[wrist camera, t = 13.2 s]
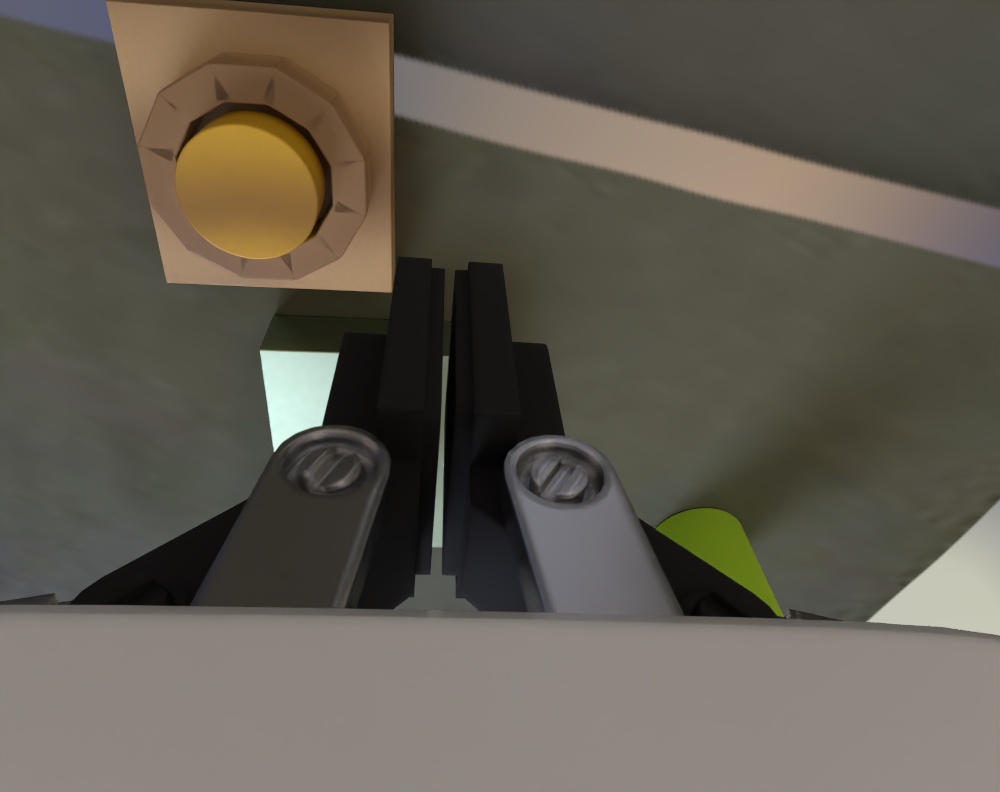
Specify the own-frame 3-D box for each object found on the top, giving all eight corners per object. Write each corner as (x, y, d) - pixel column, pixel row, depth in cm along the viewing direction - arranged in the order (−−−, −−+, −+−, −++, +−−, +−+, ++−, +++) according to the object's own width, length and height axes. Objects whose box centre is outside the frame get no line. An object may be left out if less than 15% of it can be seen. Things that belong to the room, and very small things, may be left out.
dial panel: (273, 314, 32) (258, 351, 29) (492, 323, 33) (496, 360, 30) (296, 505, 39) (285, 548, 36) (477, 507, 40) (479, 550, 37)
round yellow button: (178, 104, 23) (160, 118, 22) (321, 114, 23) (313, 128, 22) (201, 236, 26) (187, 257, 24) (329, 243, 26) (322, 263, 25)
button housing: (130, -8, 24) (80, 7, 21) (393, 13, 25) (385, 31, 22) (183, 260, 30) (150, 304, 27) (395, 269, 31) (389, 314, 28)
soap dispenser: (613, 549, 42) (715, 956, 26) (712, 492, 40) (891, 900, 24) (664, 594, 45) (785, 986, 29) (759, 543, 43) (949, 939, 27)
